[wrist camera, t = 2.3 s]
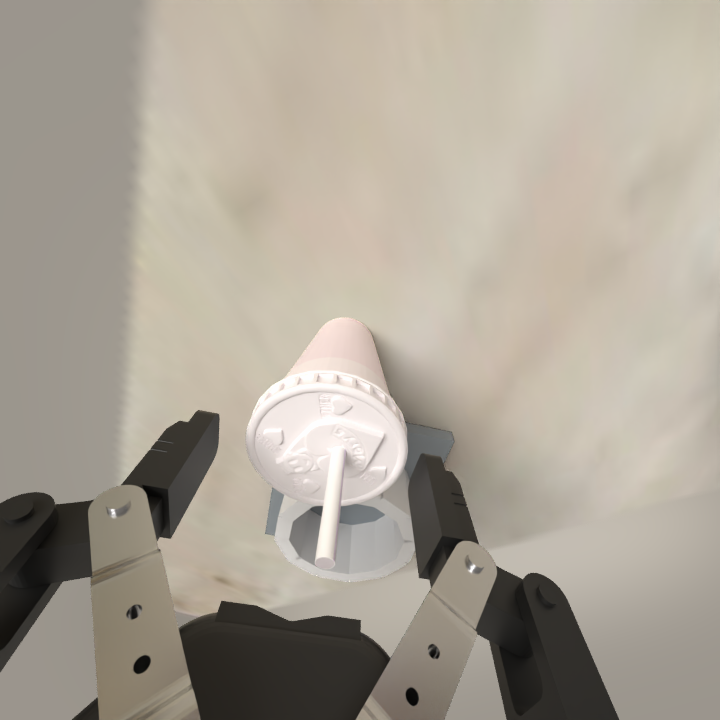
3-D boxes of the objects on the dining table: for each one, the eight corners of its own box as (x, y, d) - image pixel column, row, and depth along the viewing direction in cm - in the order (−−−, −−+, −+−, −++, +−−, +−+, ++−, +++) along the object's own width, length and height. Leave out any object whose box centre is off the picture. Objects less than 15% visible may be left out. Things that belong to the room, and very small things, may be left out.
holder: (451, 432, 25) (468, 487, 20) (397, 546, 31) (401, 607, 27) (288, 398, 24) (268, 448, 19) (268, 523, 30) (250, 582, 26)
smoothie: (409, 368, 22) (455, 605, 10) (322, 398, 24) (266, 640, 11) (371, 279, 19) (368, 452, 7) (275, 319, 21) (135, 523, 9)
